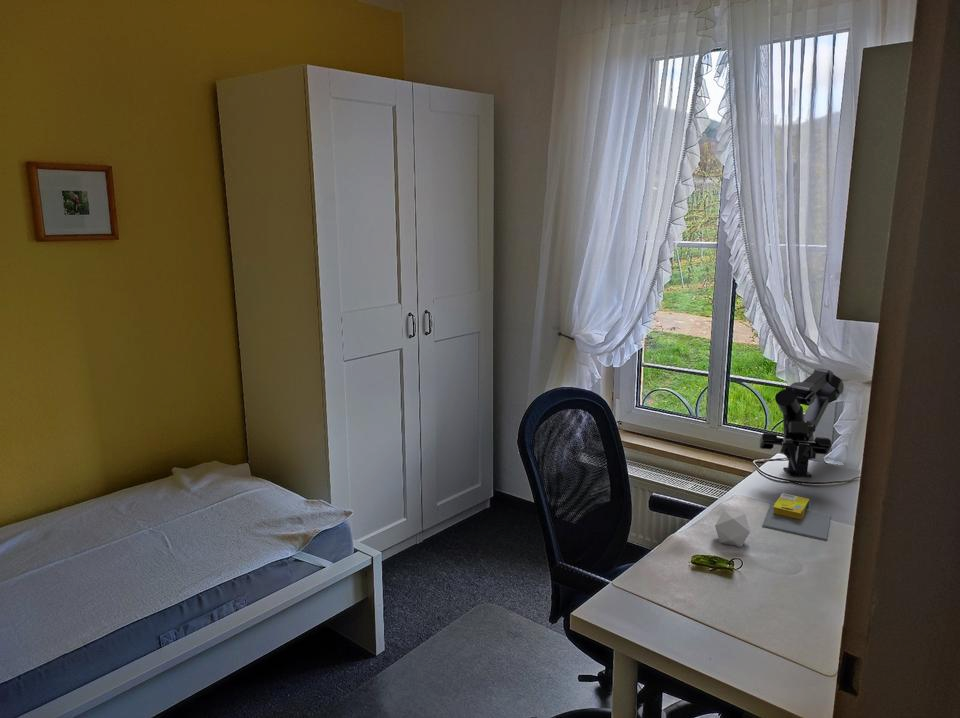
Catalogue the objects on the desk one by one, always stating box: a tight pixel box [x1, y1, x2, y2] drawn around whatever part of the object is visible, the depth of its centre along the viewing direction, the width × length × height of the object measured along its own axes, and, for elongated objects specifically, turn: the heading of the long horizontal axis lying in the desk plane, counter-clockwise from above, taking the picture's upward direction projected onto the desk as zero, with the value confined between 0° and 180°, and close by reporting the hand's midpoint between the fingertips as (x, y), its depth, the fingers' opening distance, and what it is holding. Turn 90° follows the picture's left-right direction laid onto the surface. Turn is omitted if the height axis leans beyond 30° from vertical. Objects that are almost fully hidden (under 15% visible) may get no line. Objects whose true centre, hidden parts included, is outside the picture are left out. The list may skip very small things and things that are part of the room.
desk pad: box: [761, 503, 832, 542], centre depth 185 cm, size 16×15×1 cm
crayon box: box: [773, 492, 810, 520], centre depth 190 cm, size 7×3×12 cm
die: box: [714, 509, 751, 548], centre depth 172 cm, size 8×9×10 cm
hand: (796, 469), depth 200 cm, fingers closed
